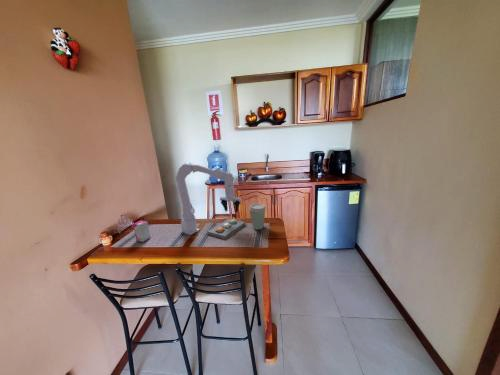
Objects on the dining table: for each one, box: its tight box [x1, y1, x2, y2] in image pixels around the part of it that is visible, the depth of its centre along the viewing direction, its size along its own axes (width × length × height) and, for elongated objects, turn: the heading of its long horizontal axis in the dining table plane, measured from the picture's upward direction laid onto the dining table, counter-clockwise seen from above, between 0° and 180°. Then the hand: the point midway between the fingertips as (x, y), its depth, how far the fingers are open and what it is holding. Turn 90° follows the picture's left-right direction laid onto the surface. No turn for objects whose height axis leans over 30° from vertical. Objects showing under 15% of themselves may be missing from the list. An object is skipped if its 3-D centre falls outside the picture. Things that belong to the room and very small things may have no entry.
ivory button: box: [224, 223, 230, 229], centre depth 126 cm, size 4×4×2 cm
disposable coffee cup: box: [248, 203, 266, 230], centre depth 124 cm, size 11×11×15 cm
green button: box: [230, 218, 237, 225], centre depth 131 cm, size 4×4×2 cm
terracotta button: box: [217, 227, 223, 233], centre depth 120 cm, size 4×4×2 cm
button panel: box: [206, 218, 246, 240], centre depth 126 cm, size 14×21×2 cm, turn 148°
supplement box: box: [132, 220, 151, 243], centre depth 119 cm, size 6×6×12 cm
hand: (231, 211), depth 128 cm, fingers open, 7 cm apart
